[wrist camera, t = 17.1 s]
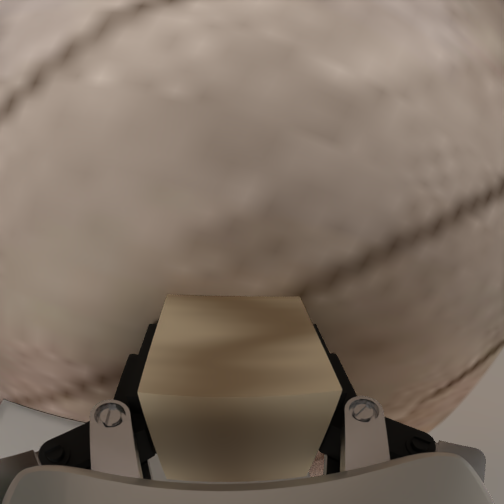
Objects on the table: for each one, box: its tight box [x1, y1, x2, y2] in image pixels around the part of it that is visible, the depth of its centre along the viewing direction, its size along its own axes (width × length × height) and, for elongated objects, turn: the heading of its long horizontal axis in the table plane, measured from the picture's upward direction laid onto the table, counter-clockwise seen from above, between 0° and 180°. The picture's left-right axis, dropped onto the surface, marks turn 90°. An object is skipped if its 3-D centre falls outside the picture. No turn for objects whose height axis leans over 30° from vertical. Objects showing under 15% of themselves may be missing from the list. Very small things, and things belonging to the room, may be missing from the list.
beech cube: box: [137, 294, 342, 482], centre depth 10 cm, size 5×5×5 cm
